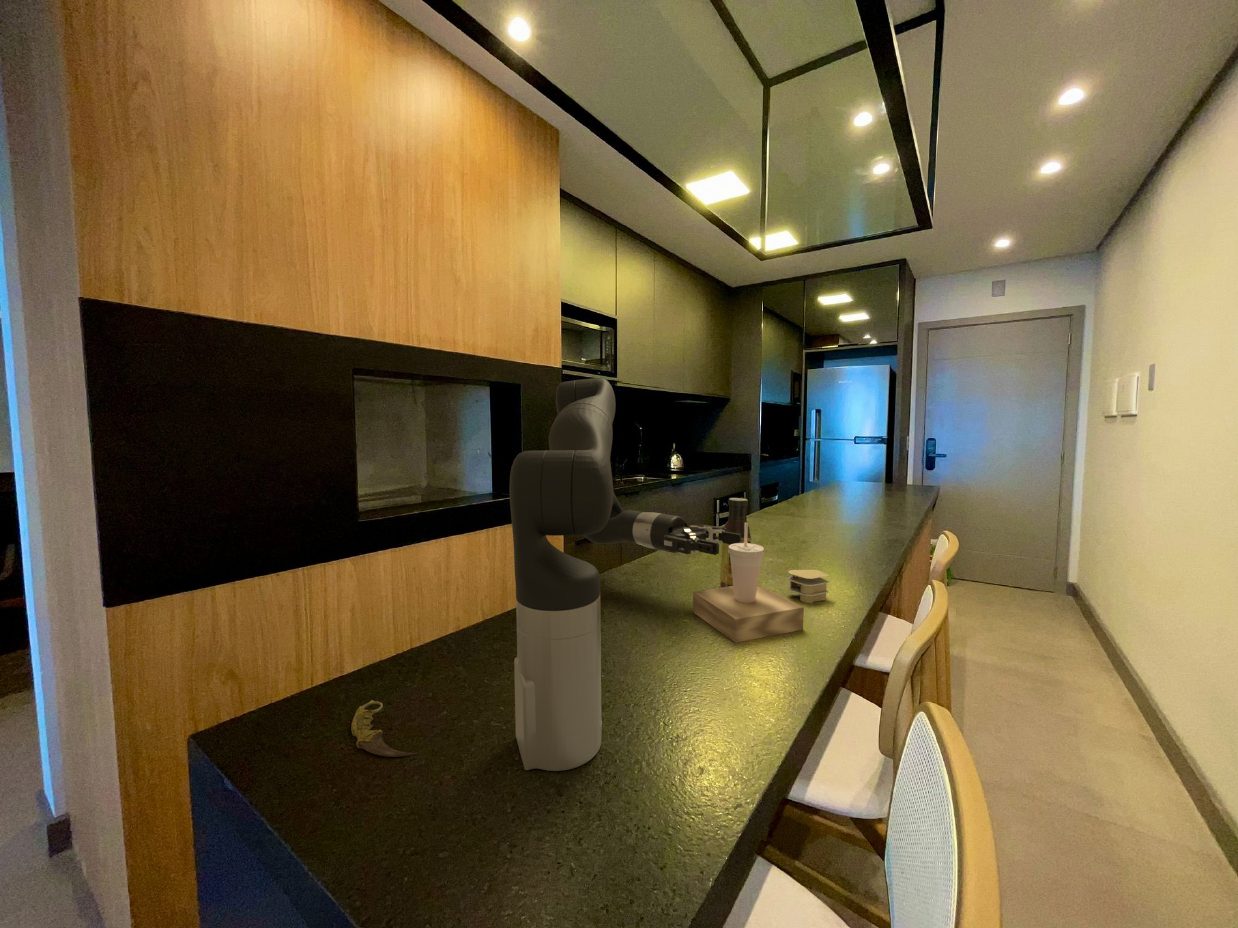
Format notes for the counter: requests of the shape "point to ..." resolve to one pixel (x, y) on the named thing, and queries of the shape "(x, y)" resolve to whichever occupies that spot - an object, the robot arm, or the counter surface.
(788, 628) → the riser
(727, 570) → the sauce bottle
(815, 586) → the stacked layers on plate
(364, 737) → the knife
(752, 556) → the smoothie
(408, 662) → the counter surface
